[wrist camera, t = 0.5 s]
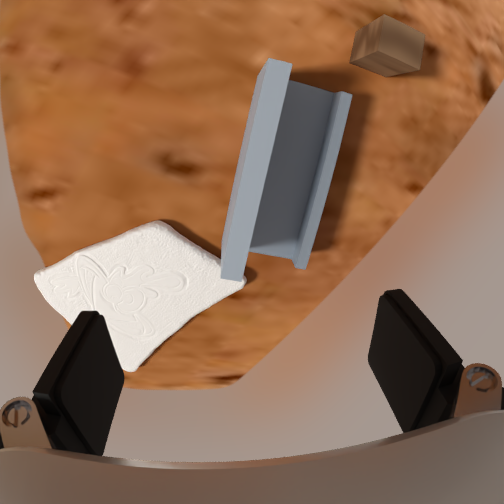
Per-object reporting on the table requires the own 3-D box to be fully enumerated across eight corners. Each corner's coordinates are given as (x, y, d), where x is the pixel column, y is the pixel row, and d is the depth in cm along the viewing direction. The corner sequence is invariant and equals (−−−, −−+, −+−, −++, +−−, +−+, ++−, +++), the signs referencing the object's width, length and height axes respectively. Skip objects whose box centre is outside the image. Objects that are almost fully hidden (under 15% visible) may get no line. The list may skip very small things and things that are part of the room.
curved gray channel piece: (257, 75, 32) (268, 58, 23) (338, 97, 33) (374, 90, 24) (221, 240, 39) (220, 278, 30) (297, 254, 40) (317, 293, 31)
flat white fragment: (132, 361, 48) (253, 279, 42) (128, 376, 45) (255, 294, 39) (35, 274, 40) (140, 156, 34) (24, 286, 37) (132, 161, 31)
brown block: (355, 32, 30) (384, 14, 23) (396, 49, 31) (430, 37, 23) (349, 63, 32) (377, 50, 24) (390, 79, 32) (425, 72, 25)
